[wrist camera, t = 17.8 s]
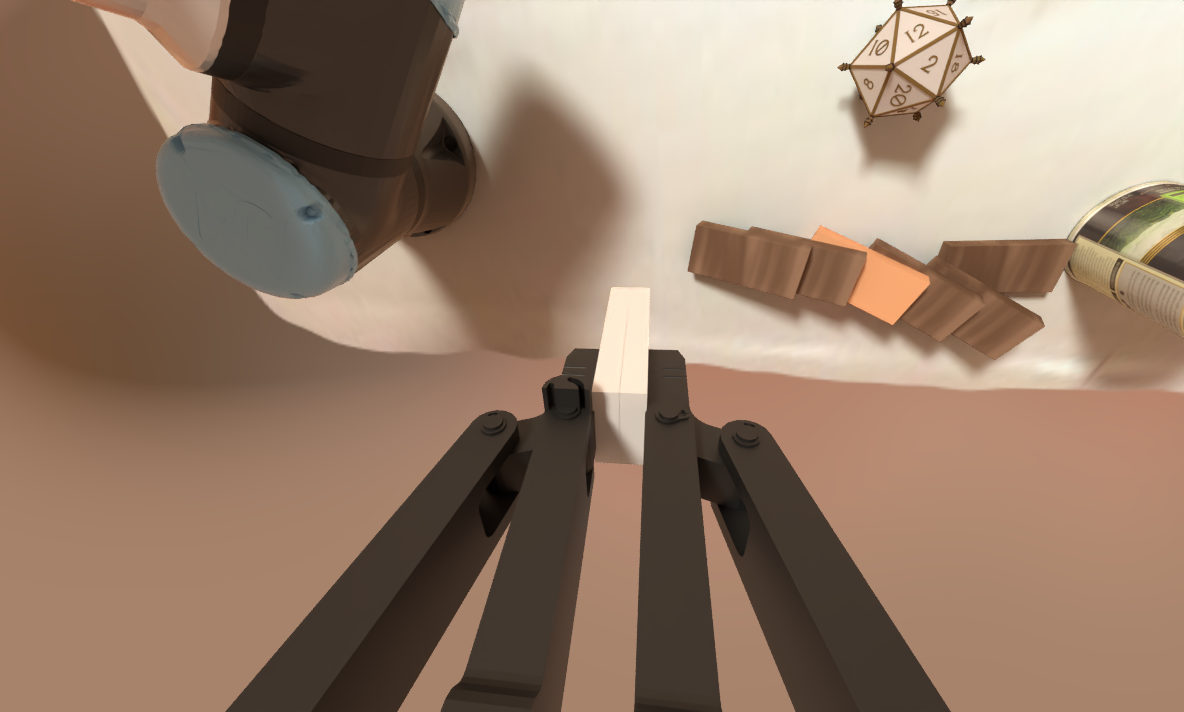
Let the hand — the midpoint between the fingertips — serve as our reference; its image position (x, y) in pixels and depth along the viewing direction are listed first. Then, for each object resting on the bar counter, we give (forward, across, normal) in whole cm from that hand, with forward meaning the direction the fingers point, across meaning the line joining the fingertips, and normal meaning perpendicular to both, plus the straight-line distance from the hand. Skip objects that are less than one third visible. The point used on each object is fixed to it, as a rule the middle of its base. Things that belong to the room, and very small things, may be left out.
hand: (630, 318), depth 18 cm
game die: (+33, +20, +7) cm, 39 cm away
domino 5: (+32, +30, -11) cm, 45 cm away
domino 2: (+31, +10, -9) cm, 34 cm away
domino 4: (+31, +22, -10) cm, 39 cm away
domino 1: (+31, +5, -9) cm, 33 cm away
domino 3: (+31, +16, -9) cm, 36 cm away
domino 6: (+31, +28, -12) cm, 43 cm away
